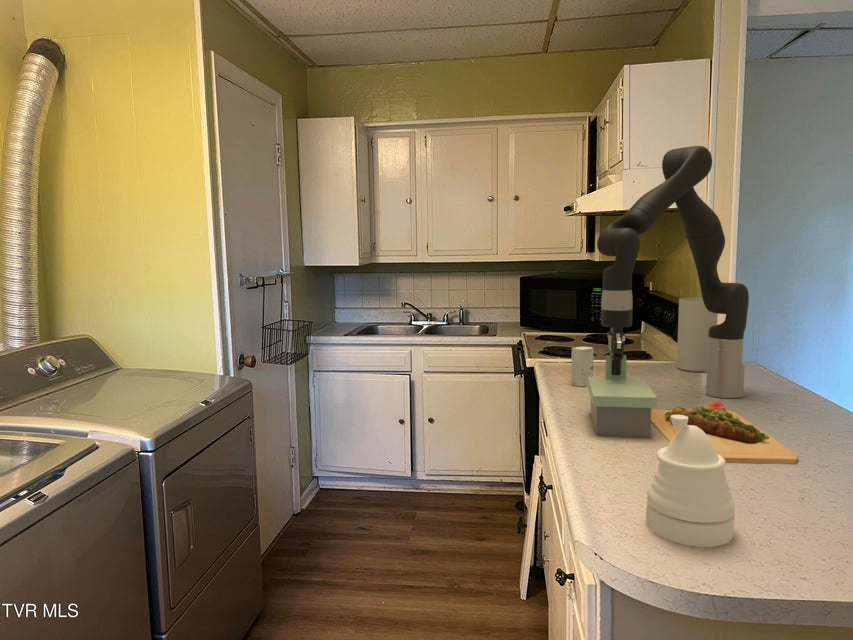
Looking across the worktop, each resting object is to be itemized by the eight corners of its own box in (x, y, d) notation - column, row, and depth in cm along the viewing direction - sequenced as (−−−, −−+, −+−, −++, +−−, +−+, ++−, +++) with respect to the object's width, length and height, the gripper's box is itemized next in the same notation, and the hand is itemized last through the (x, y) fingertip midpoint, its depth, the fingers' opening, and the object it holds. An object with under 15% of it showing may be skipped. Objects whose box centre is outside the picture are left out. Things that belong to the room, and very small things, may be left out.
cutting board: (640, 415, 157) (641, 388, 156) (732, 417, 154) (734, 389, 153) (683, 464, 122) (684, 429, 121) (803, 467, 120) (805, 431, 119)
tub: (638, 418, 152) (639, 388, 151) (650, 441, 135) (651, 407, 134) (590, 416, 155) (590, 386, 154) (596, 438, 137) (596, 405, 136)
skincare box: (580, 387, 186) (581, 349, 185) (570, 384, 190) (570, 347, 188) (594, 384, 190) (594, 347, 188) (583, 382, 193) (583, 345, 192)
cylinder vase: (673, 370, 208) (675, 300, 205) (680, 364, 219) (683, 297, 215) (711, 374, 201) (715, 301, 198) (717, 367, 211) (720, 298, 208)
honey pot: (645, 539, 91) (649, 426, 88) (646, 504, 103) (649, 404, 100) (739, 553, 86) (745, 434, 84) (728, 515, 98) (733, 410, 96)
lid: (642, 386, 152) (643, 355, 151) (656, 408, 133) (657, 371, 132) (587, 385, 155) (587, 354, 154) (593, 406, 136) (593, 370, 135)
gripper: (636, 310, 142) (634, 380, 144) (628, 304, 155) (627, 368, 158) (604, 310, 144) (603, 380, 146) (599, 304, 157) (598, 368, 159)
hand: (615, 374), depth 152 cm, fingers closed on lid, 1 cm apart
